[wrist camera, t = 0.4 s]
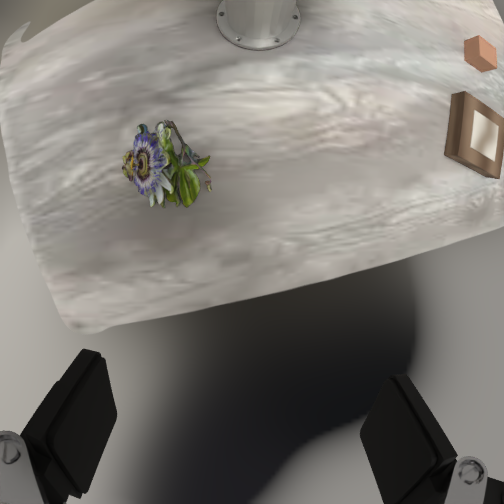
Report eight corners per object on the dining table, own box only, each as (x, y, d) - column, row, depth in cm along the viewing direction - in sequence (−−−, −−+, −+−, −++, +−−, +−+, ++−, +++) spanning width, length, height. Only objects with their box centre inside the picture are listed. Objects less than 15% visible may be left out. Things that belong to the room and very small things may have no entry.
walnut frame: (444, 155, 41) (458, 155, 37) (451, 94, 38) (465, 91, 34) (485, 176, 42) (500, 179, 38) (493, 120, 39) (506, 120, 35)
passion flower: (159, 164, 46) (116, 124, 35) (219, 144, 44) (185, 94, 33) (157, 226, 43) (105, 193, 32) (225, 209, 40) (184, 165, 29)
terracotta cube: (464, 60, 36) (479, 55, 31) (464, 41, 34) (478, 35, 29) (481, 72, 36) (497, 68, 31) (481, 53, 35) (496, 48, 30)
